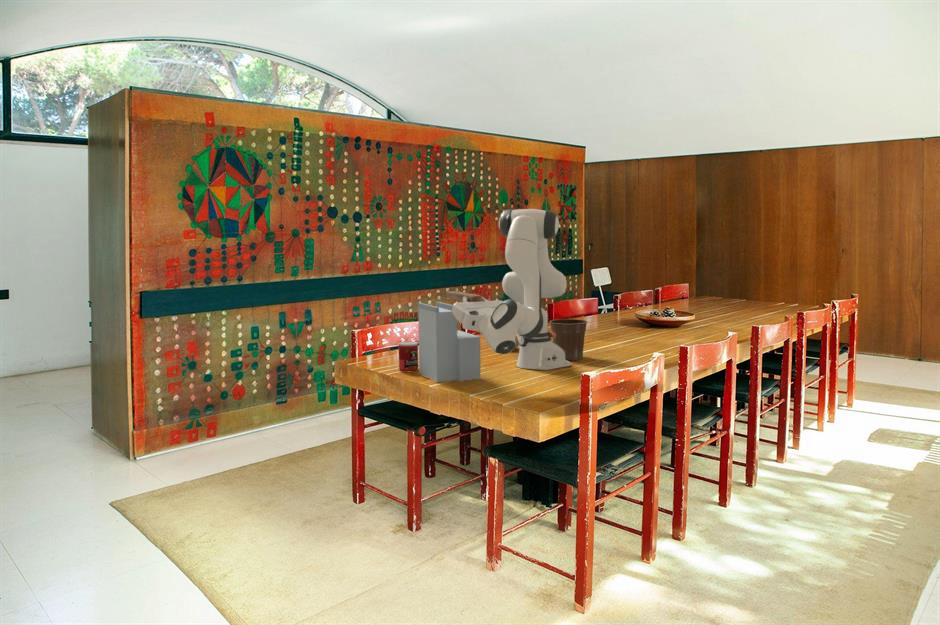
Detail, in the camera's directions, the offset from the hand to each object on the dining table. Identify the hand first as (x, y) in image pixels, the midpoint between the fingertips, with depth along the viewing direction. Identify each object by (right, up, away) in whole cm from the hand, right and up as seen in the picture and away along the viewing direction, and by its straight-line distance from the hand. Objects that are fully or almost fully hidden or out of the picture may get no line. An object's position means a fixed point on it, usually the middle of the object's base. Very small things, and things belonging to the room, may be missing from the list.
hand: (471, 297), depth 261 cm
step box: (-9, -30, +12) cm, 33 cm away
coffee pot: (+18, -23, +64) cm, 71 cm away
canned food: (-25, -29, +24) cm, 45 cm away
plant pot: (+42, -25, +47) cm, 68 cm away
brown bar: (-3, -1, +7) cm, 7 cm away
